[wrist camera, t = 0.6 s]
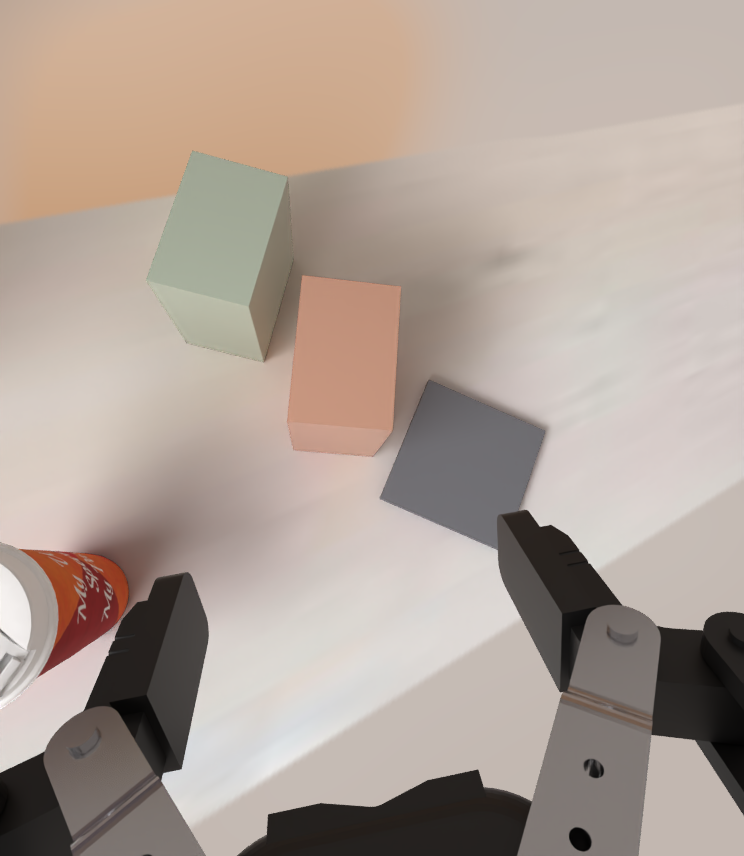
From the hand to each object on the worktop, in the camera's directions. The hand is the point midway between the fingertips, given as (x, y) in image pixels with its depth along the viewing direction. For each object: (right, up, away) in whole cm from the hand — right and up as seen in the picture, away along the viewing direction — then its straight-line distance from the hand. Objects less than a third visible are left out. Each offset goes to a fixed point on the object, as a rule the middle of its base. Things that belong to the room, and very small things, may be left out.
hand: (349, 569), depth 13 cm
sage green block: (-10, +14, +27) cm, 32 cm away
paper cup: (-19, -8, +22) cm, 30 cm away
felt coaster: (+8, +1, +27) cm, 28 cm away
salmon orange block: (-2, +6, +27) cm, 27 cm away
